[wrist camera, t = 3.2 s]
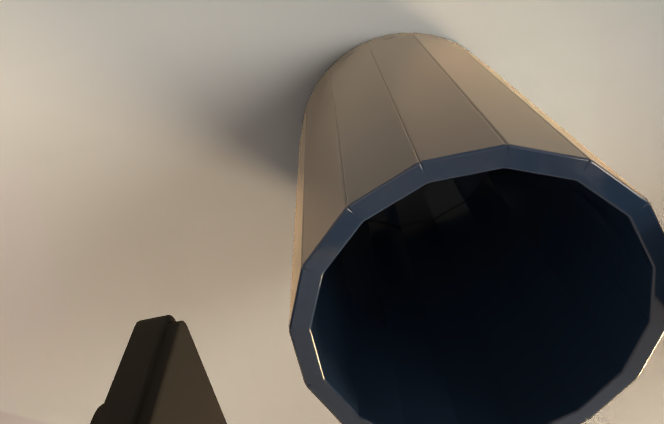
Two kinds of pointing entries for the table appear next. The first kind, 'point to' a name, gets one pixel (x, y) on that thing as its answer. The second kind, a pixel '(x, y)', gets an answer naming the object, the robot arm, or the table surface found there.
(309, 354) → the cup
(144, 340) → the robot arm
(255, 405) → the table surface
